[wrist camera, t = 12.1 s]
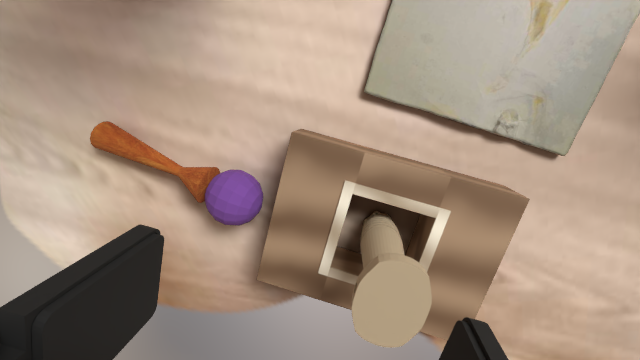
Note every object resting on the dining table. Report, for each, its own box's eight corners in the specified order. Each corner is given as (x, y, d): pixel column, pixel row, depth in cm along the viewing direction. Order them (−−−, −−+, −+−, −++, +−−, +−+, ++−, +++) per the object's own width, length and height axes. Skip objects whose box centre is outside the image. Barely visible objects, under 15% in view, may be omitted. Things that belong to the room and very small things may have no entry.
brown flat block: (301, 128, 33) (291, 132, 28) (504, 185, 32) (530, 199, 27) (269, 257, 37) (255, 280, 32) (448, 313, 36) (463, 346, 31)
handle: (408, 203, 34) (444, 274, 19) (389, 254, 35) (411, 356, 21) (365, 191, 34) (369, 251, 20) (349, 242, 36) (341, 334, 21)
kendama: (90, 105, 32) (261, 184, 30) (132, 115, 38) (277, 182, 36) (70, 157, 32) (237, 240, 30) (114, 160, 38) (257, 229, 36)
